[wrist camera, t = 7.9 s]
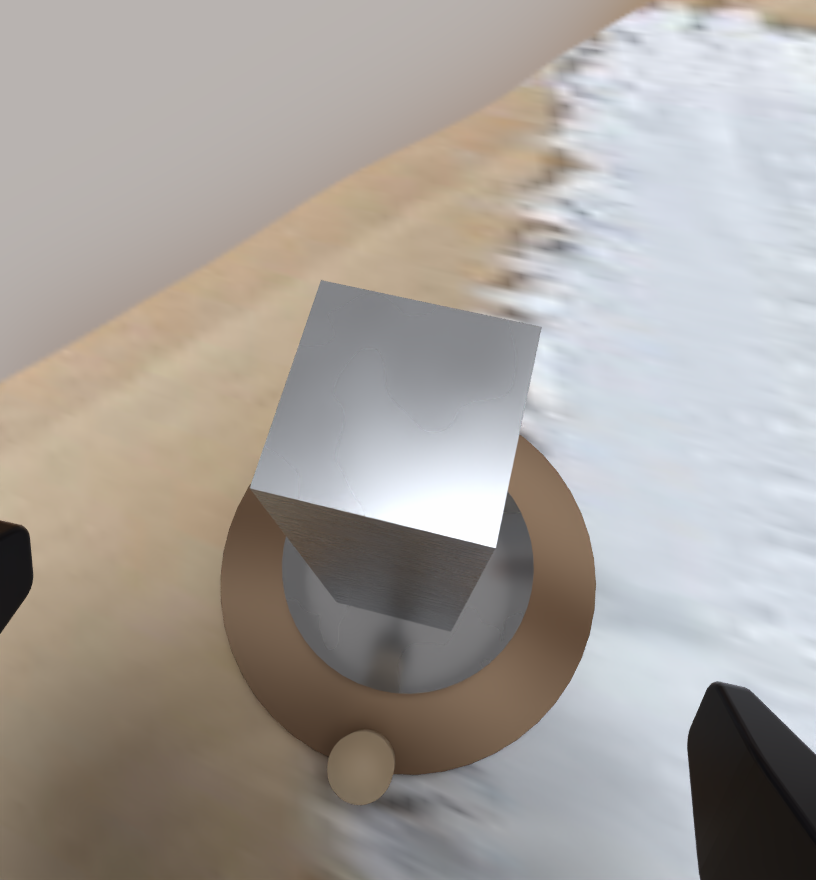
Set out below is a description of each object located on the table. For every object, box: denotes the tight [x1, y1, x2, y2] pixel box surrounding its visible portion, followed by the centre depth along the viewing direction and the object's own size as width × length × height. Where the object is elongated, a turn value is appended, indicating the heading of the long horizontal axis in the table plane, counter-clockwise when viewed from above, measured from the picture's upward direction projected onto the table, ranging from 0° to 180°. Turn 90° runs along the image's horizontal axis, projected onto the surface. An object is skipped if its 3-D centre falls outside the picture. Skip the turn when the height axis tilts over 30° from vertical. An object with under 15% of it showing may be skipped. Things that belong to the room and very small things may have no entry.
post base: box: [221, 435, 596, 805], centre depth 20 cm, size 12×11×3 cm
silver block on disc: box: [250, 280, 541, 694], centre depth 15 cm, size 7×7×12 cm
